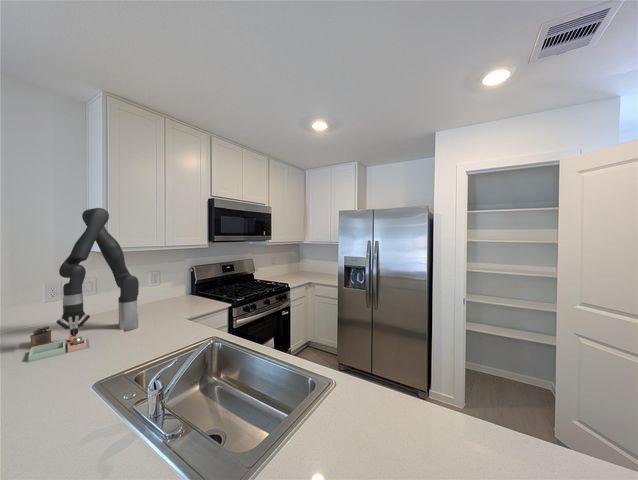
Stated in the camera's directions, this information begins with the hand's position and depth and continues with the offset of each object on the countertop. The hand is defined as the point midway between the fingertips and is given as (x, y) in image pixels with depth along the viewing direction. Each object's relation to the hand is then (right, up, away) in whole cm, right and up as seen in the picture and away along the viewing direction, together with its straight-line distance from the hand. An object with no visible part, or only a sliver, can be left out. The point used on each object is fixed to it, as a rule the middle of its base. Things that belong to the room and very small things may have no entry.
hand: (74, 335), depth 130 cm
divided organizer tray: (-1, -6, -6) cm, 9 cm away
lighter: (-16, -6, -1) cm, 17 cm away
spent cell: (+5, -5, -4) cm, 8 cm away
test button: (0, -5, 0) cm, 4 cm away
